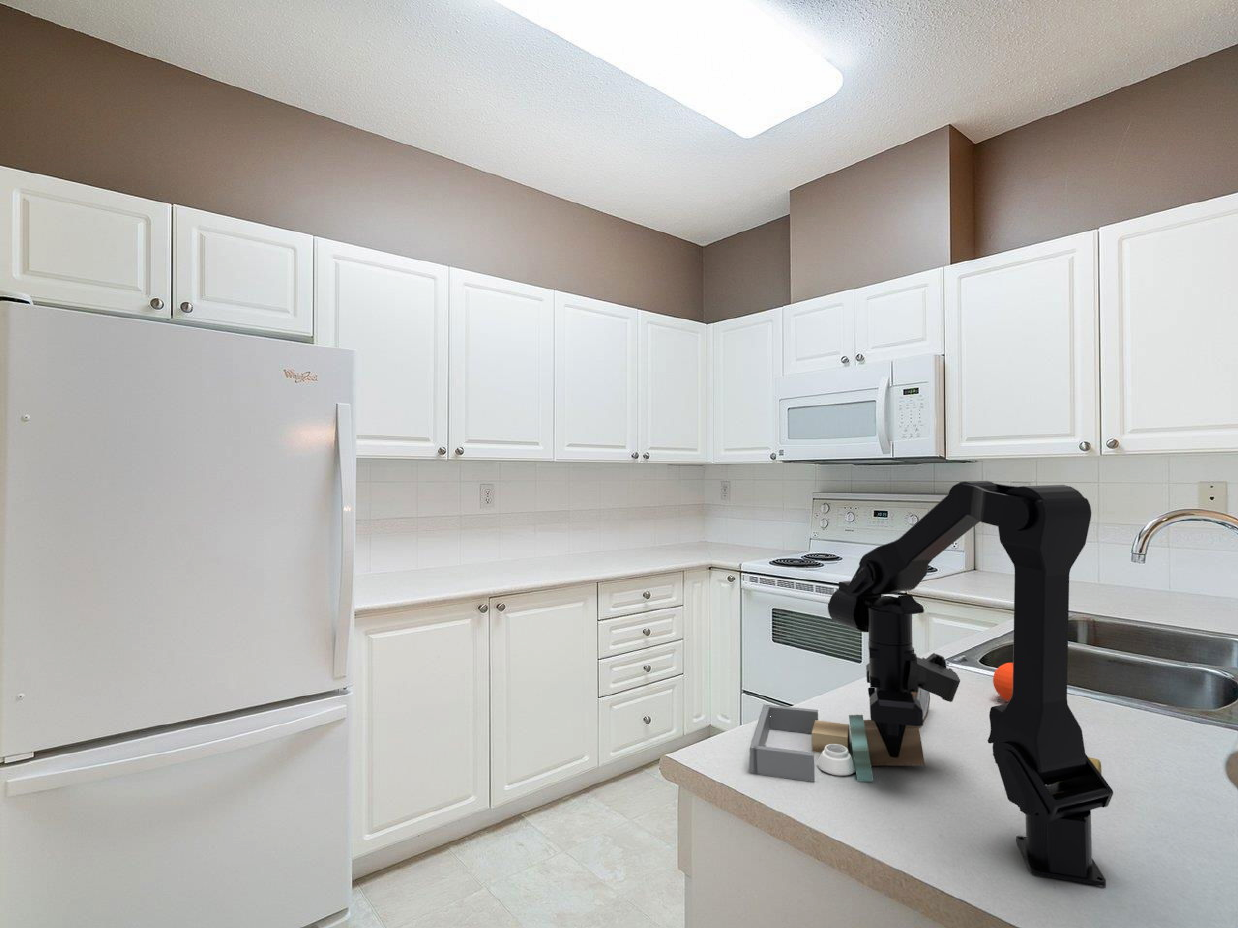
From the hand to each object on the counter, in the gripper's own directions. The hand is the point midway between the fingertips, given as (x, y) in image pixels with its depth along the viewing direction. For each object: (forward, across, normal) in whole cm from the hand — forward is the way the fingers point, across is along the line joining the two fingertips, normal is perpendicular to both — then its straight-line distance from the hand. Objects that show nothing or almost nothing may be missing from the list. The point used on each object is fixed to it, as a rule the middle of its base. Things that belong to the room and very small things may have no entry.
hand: (893, 750), depth 90 cm
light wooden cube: (+2, +3, +8) cm, 9 cm away
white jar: (+2, -4, +8) cm, 9 cm away
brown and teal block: (+1, 0, 0) cm, 1 cm away
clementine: (+2, +31, -22) cm, 38 cm away
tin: (+2, +17, -4) cm, 18 cm away
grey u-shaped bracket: (+2, 0, +14) cm, 15 cm away
